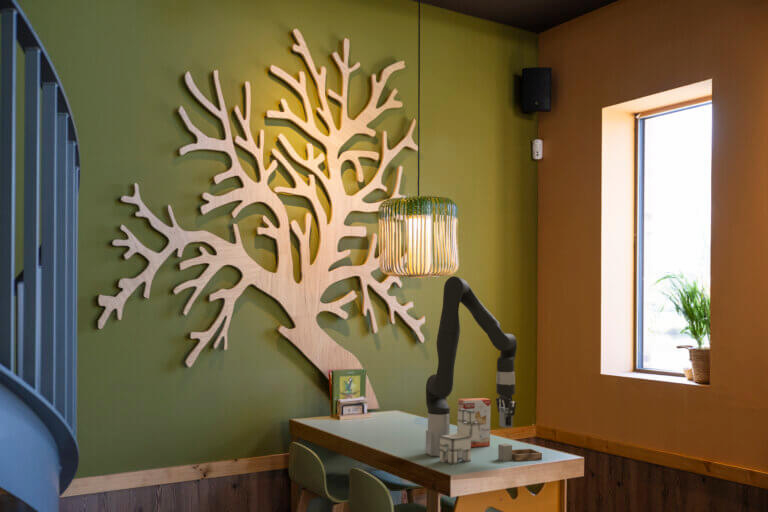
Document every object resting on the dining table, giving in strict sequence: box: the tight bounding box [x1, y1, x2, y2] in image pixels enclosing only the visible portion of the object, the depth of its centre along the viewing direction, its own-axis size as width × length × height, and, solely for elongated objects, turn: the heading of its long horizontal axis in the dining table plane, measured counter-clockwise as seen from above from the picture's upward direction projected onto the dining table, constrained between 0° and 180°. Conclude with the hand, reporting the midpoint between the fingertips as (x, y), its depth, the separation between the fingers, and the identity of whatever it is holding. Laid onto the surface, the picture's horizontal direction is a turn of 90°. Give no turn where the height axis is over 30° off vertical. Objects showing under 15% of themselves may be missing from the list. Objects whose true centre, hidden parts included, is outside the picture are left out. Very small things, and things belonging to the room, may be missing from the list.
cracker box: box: [456, 397, 492, 448], centre depth 327 cm, size 14×6×21 cm, turn 112°
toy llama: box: [439, 408, 480, 466], centre depth 297 cm, size 8×18×20 cm, turn 128°
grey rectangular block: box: [498, 411, 514, 429], centre depth 299 cm, size 4×4×6 cm
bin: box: [512, 448, 543, 462], centre depth 304 cm, size 12×9×2 cm
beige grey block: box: [497, 443, 513, 462], centre depth 300 cm, size 4×4×6 cm
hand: (506, 424), depth 298 cm, fingers closed on grey rectangular block, 4 cm apart
